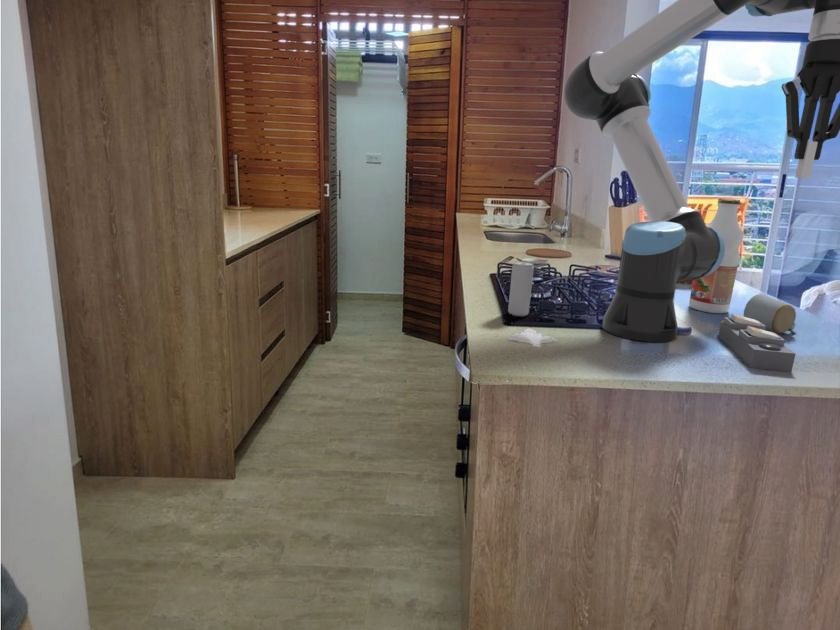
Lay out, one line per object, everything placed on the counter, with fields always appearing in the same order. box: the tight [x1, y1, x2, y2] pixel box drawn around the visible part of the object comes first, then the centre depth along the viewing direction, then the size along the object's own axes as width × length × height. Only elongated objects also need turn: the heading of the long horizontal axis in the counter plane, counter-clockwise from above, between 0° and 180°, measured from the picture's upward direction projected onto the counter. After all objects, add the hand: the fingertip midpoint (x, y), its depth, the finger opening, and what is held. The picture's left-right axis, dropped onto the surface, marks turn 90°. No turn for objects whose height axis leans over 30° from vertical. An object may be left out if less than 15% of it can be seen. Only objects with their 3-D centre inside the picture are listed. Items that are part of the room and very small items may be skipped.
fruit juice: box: [688, 197, 744, 314], centre depth 146 cm, size 9×9×28 cm
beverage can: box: [507, 260, 535, 317], centre depth 134 cm, size 5×5×12 cm
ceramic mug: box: [743, 293, 797, 335], centre depth 133 cm, size 11×8×8 cm
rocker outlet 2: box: [746, 326, 779, 339], centre depth 112 cm, size 5×3×1 cm
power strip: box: [717, 316, 796, 373], centre depth 115 cm, size 7×20×5 cm, turn 169°
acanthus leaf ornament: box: [507, 328, 557, 348], centre depth 116 cm, size 8×7×2 cm
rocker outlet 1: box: [729, 313, 761, 325], centre depth 121 cm, size 5×3×1 cm
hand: (802, 177), depth 109 cm, fingers closed
